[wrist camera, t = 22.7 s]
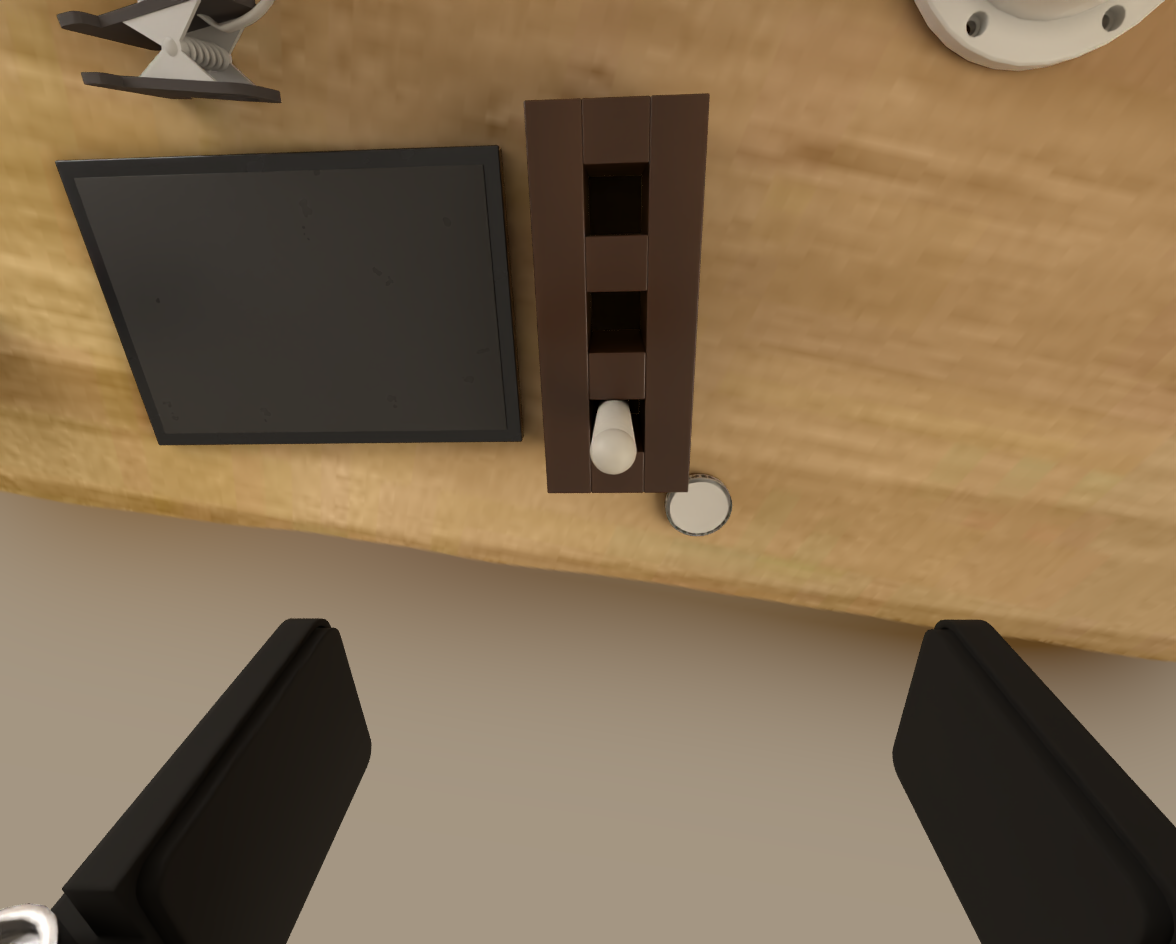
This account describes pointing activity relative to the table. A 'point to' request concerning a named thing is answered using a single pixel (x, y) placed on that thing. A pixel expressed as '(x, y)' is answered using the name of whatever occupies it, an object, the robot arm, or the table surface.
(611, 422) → the stylus
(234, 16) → the clip-on lamp
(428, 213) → the tablet
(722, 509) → the white flat rimmed disc
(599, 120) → the pen rack
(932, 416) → the table surface
